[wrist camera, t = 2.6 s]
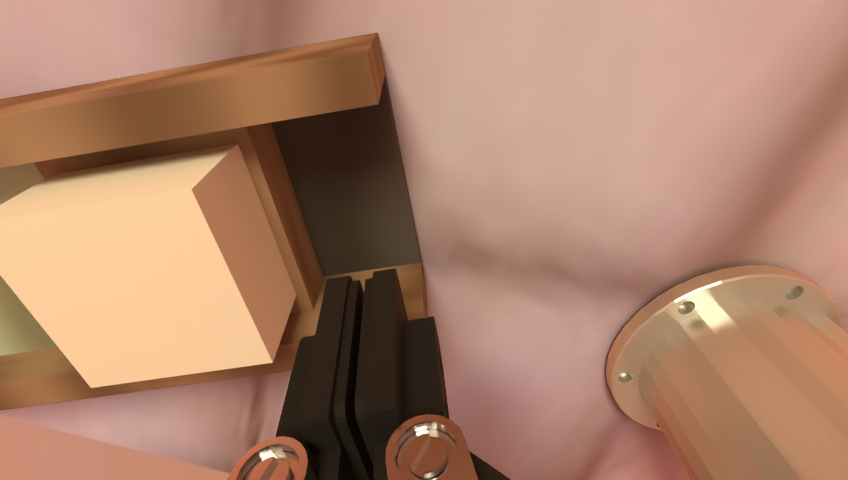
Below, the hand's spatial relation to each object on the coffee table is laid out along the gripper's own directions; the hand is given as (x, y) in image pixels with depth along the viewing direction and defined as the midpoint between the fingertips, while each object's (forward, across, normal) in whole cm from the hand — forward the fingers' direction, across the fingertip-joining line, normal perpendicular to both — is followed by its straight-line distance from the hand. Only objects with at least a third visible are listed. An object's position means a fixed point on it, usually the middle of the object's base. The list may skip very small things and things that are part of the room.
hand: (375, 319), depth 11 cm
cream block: (+7, +8, +1) cm, 11 cm away
